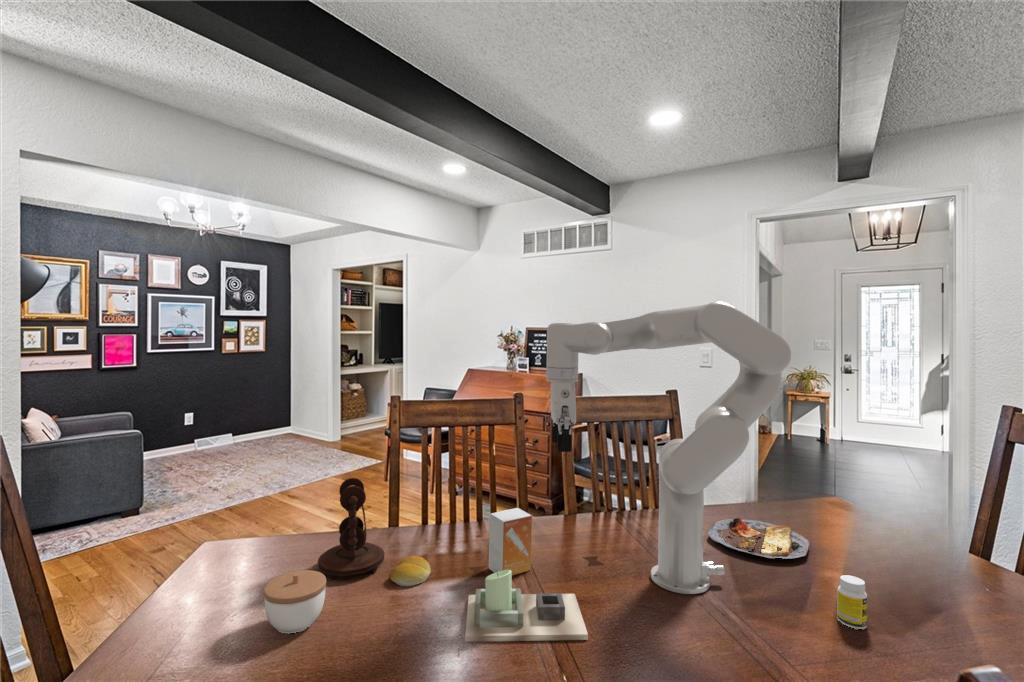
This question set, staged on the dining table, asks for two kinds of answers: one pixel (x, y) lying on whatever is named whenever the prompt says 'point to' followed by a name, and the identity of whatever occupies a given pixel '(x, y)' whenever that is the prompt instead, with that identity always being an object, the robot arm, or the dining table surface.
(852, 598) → the supplement bottle
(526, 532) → the small box
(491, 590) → the candle
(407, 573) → the bread roll
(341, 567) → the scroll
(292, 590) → the lidded jar
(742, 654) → the dining table surface
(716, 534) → the food plate
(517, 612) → the holder board
